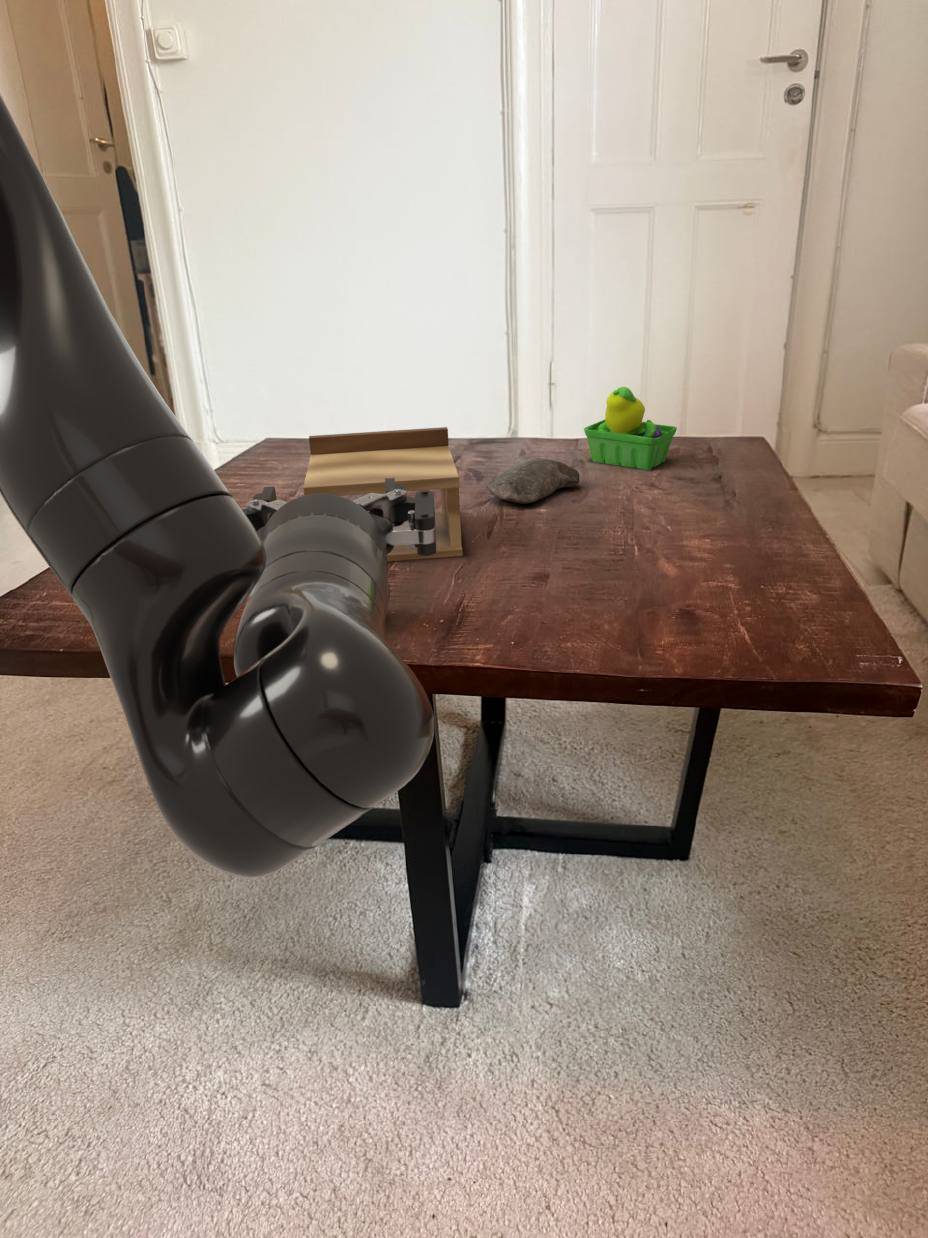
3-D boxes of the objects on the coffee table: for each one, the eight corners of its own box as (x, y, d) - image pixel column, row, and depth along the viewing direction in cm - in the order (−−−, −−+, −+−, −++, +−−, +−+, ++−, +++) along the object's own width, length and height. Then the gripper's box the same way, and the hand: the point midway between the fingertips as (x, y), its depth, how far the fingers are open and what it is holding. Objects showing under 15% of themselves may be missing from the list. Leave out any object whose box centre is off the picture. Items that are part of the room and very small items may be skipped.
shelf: (462, 557, 93) (458, 457, 88) (313, 569, 92) (300, 468, 87) (451, 516, 105) (447, 426, 101) (319, 526, 104) (309, 435, 100)
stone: (474, 517, 113) (529, 529, 106) (463, 482, 111) (519, 492, 104) (534, 474, 119) (590, 483, 112) (525, 440, 116) (583, 447, 109)
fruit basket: (677, 461, 123) (682, 381, 118) (649, 477, 117) (653, 392, 112) (606, 452, 130) (608, 375, 125) (576, 466, 123) (577, 385, 118)
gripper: (444, 506, 46) (426, 436, 61) (175, 526, 45) (222, 450, 60) (451, 631, 50) (432, 536, 64) (200, 652, 49) (239, 551, 63)
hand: (331, 495), depth 62 cm, fingers open, 8 cm apart
